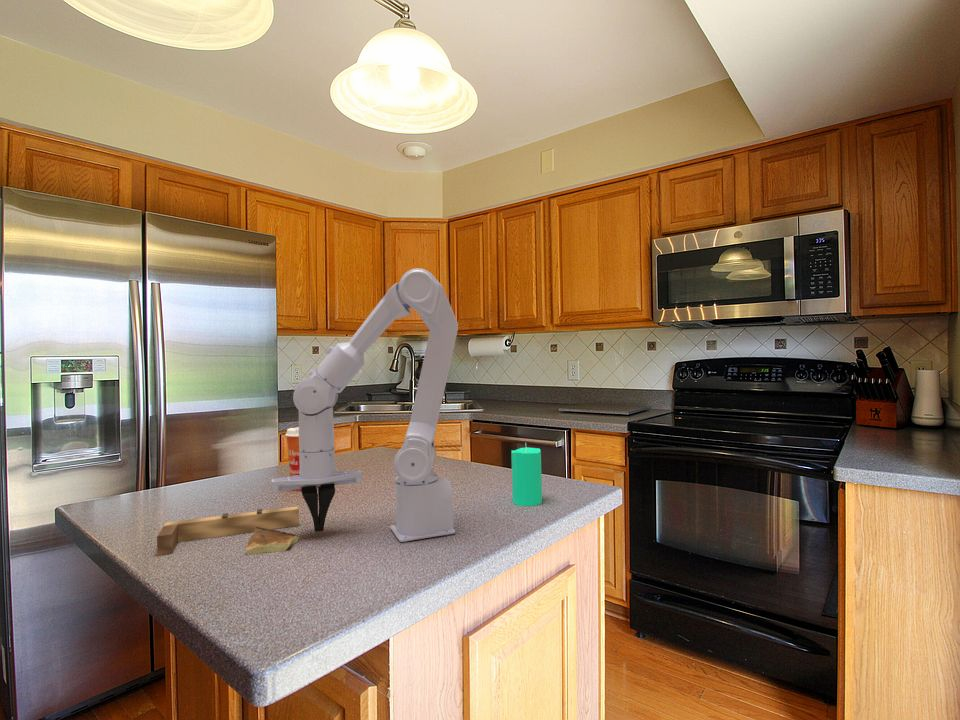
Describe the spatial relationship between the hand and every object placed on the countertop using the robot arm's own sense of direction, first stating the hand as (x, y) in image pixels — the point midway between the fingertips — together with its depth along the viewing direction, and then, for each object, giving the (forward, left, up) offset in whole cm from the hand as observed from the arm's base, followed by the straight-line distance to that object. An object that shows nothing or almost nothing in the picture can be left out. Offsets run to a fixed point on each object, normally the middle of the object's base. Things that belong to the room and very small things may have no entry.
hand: (318, 529), depth 87 cm
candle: (-41, -2, -1) cm, 41 cm away
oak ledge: (+13, -5, -1) cm, 14 cm away
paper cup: (0, -36, -1) cm, 36 cm away
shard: (+9, +1, -2) cm, 9 cm away
